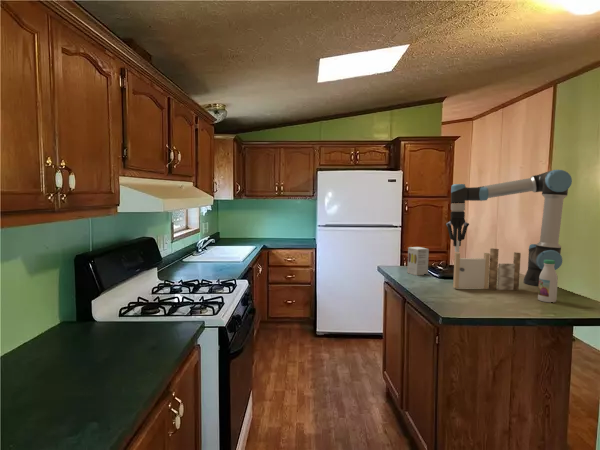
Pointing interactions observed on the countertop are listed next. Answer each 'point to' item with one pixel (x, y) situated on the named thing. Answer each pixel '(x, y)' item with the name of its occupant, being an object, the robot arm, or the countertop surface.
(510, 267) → the gate post and fence
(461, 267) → the gate
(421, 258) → the supplement box
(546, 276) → the milk bottle
